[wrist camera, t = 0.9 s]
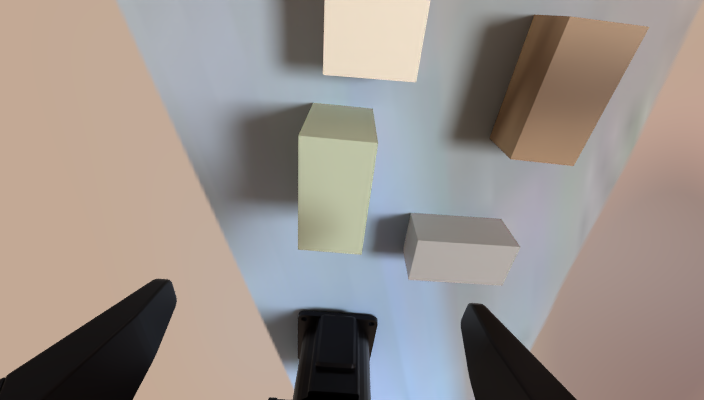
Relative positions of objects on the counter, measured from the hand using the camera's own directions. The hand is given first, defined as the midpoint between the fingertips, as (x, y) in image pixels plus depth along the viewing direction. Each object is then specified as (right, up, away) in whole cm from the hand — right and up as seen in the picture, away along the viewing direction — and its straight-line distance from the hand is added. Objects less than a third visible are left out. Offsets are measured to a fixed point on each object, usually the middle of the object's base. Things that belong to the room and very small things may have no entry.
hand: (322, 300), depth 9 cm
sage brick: (0, +6, +9) cm, 10 cm away
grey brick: (+8, +1, +12) cm, 14 cm away
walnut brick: (+11, +9, +7) cm, 15 cm away
